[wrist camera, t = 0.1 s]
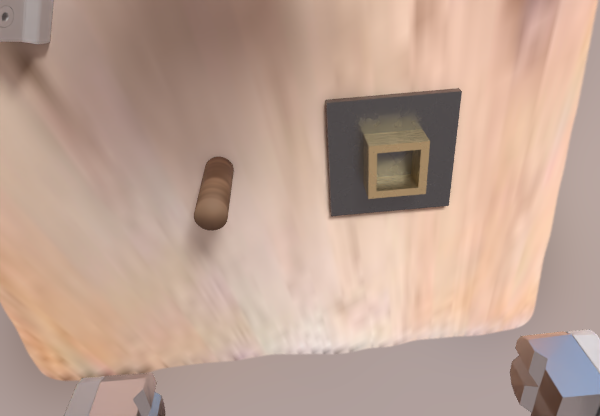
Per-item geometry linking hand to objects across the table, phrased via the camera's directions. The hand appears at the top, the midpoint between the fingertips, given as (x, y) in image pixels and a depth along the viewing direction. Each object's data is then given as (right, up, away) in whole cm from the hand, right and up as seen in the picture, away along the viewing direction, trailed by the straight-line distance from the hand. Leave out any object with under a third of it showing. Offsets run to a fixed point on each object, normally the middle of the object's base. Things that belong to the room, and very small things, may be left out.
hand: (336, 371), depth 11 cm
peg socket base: (+11, +11, +51) cm, 53 cm away
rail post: (-11, +9, +51) cm, 53 cm away
